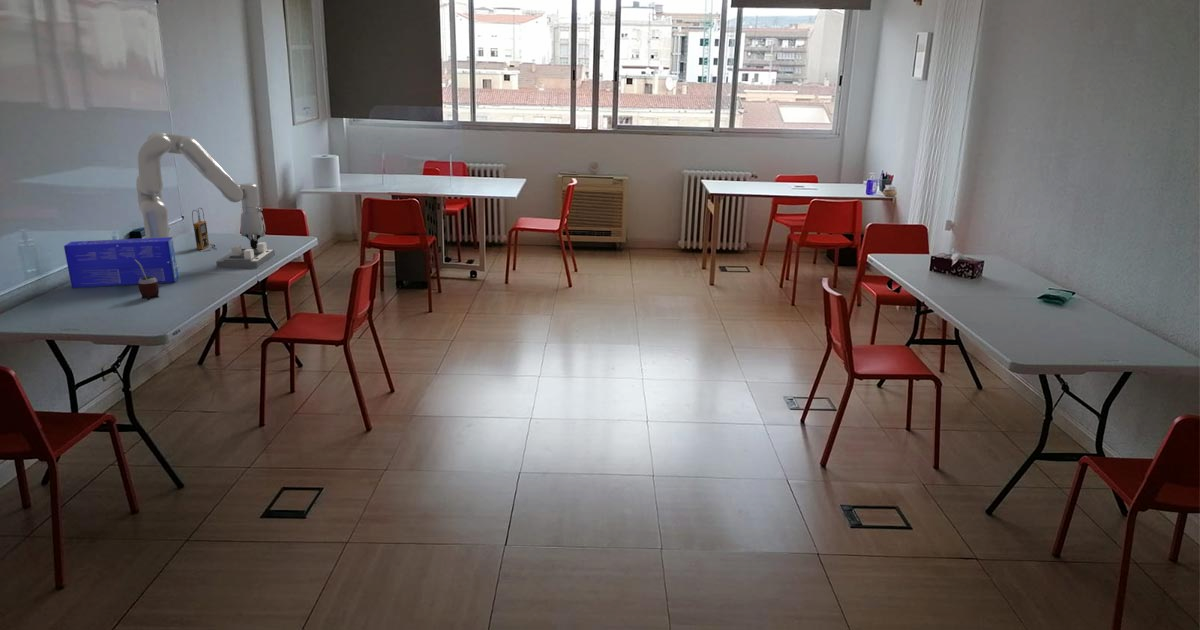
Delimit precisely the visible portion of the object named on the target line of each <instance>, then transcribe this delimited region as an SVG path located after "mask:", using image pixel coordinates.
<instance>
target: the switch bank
mask: <svg viewBox="0 0 1200 630" xmlns="http://www.w3.org/2000/svg"><path fill="white" fill-rule="evenodd" d="M241 248H242V254H241V255H232V251H230V252H229V253H228V254H225V255H224V256H223V257H221V258H220V259H218V260H216V261H215V264H216V268H217V267H218V268H219V269H258V268H260V267H261V266H262V265H264V264H265V263H267V262H268V261H269V260H271V259H272V258H273V256H274V257H275V255H276V254H275V253H276V252H275V249H271V248H270V249H268V248H267V251H266V252H258V250H257V248H256V249H253V250H254V258H253V259H244V250H246V249H248V248H246V247H245V248H243V247H241ZM270 258H271V259H270ZM267 260H268V261H267ZM266 261H267V262H266ZM264 262H265V263H264ZM263 263H264V264H263ZM261 264H262V265H261ZM260 265H261V266H260ZM259 266H260V267H259ZM257 267H258V268H257ZM218 268H217V269H218Z"/></svg>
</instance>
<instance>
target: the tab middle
mask: <svg viewBox="0 0 1200 630" xmlns="http://www.w3.org/2000/svg"><path fill="white" fill-rule="evenodd" d="M242 248H243V247H242V244H241V245H239V244H238V245H232V247H231V248H230V249H231V252H232V255H241V254H242Z"/></svg>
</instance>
